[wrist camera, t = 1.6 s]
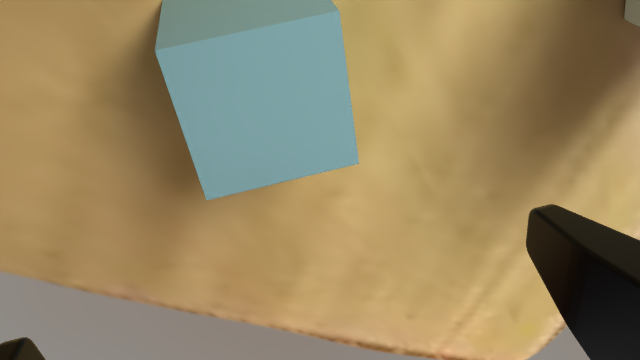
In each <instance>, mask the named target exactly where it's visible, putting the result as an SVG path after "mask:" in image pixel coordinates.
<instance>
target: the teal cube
mask: <svg viewBox="0 0 640 360" xmlns="http://www.w3.org/2000/svg"><path fill="white" fill-rule="evenodd" d="M155 53H156V56H157V59H158V62H159V65H160V68H161V71H162V73H163V76H164V79H165V82H166V85H167V88H168V91H169V94H170V96H171V99H172V102H173V105H174V108H175V111H176V114H177V117H178V120H179V122H180V125H181V128H182V131H183V134H184V137H185V140H186V143H187V145H188V148H189V151H190V154H191V157H192V160H193V163H194V166H195V169H196V171H197V174H198V177H199V180H200V183H201V186H202V189H203V192H204V194H205V197H206V200H210V199H215V198H219V197H223V196H227V195H231V194H235V193H239V192H243V191H248V190H252V189H256V188H260V187H264V186H268V185H272V184H276V183H281V182H285V181H289V180H293V179H297V178H301V177H305V176H309V175H314V174H318V173H322V172H326V171H330V170H334V169H338V168H342V167H347V166H351V165H355V164H359V160H358V152H357V144H356V137H355V129H354V121H353V113H352V106H351V98H350V90H349V82H348V75H347V67H346V59H345V51H344V44H343V36H342V28H341V20H340V12H339V10H338V8H337V7H336V6H335V5H334V3H333V2H332V1H331V0H163V1H162V8H161V14H160V20H159V26H158V33H157V39H156V45H155Z"/></svg>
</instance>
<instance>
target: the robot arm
mask: <svg viewBox="0 0 640 360" xmlns="http://www.w3.org/2000/svg"><path fill="white" fill-rule="evenodd" d="M526 247H527V251H528V254H529V256H530V258H531V260H532V261H533V263H534V265H535V267H536V269H537V271H538V273H539V275H540V276H541V278H542V280H543V282H544V284H545V286H546V288H547V289H548V291H549V293H550V295H551V297H552V299H553V301H554V303H555V304H556V306H557V308H558V310H559V312H560V314H561V315H562V317H563V319H564V321H565V322H566V324H567V326H568V327H569V329H570V330H571V332H572V333H573V335H574V336H575V338H576V339H577V341H578V342H579V344H580V345H581V346H582V348H583V349H584V351H585V352H586V354H587V355H588V357H589V358H590V360H640V240H637V239H635V238H633V237H630V236H628V235H626V234H623V233H621V232H618V231H616V230H614V229H611V228H609V227H607V226H604V225H602V224H600V223H597V222H595V221H593V220H590V219H588V218H585V217H583V216H581V215H578V214H576V213H574V212H571V211H569V210H567V209H564V208H562V207H559V206H557V205H553V204H551V205H546V206H542V207H538V208H534V209H532V210H531V211H530V213H529V218H528V228H527V237H526ZM0 360H45V358H44V357H43V356H42V354H41V353H40V351H39V350H38V348H37V347H36V346H35V344H34V343H33V342H32V340H30V339H29V338H27V337H25V338H19V339H15V340H11V341H7V342H4V343H2V344H0Z"/></svg>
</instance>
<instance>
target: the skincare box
mask: <svg viewBox="0 0 640 360" xmlns="http://www.w3.org/2000/svg"><path fill="white" fill-rule="evenodd" d="M624 18H625V20H626V21H628V22H630V23H632V24H634V25H636V26H638V27H640V0H626V5H625V15H624Z"/></svg>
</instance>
